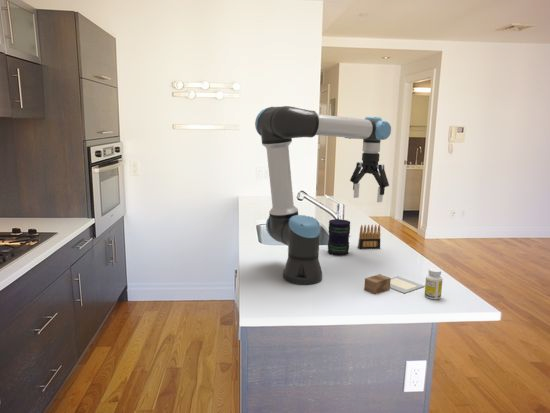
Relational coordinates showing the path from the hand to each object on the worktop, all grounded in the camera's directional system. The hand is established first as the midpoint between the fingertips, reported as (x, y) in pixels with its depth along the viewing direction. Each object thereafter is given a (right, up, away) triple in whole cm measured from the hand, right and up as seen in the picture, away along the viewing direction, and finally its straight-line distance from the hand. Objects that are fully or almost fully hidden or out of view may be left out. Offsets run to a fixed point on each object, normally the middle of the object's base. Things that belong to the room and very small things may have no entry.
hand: (367, 199), depth 187 cm
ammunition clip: (+4, -24, +14) cm, 28 cm away
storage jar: (-12, -25, +6) cm, 28 cm away
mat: (+5, -32, -33) cm, 46 cm away
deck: (-5, -33, -38) cm, 51 cm away
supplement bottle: (+13, -35, -43) cm, 57 cm away
